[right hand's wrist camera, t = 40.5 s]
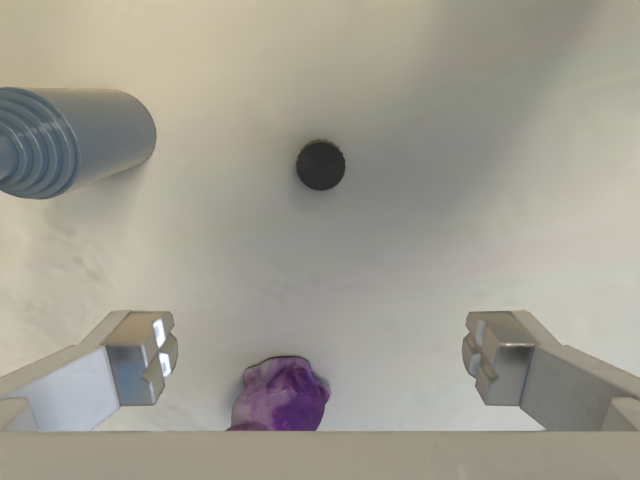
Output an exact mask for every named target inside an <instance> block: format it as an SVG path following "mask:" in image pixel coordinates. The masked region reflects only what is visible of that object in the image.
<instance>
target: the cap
mask: <svg viewBox="0 0 640 480" xmlns="http://www.w3.org/2000/svg"><path fill="white" fill-rule="evenodd" d="M296 165H297V172H298V175H299V178H300V179H301V181H302V182H303V183H304V184H305V185H306V186H308V187H309V188H311V189H314V190H321V191H322V190H328V189H331V188H333V187H334V186H336V185H337V184H338V183H339V182H340V181H341V179H342V177H343V175H344V172H345V159H344V157H343V153H342V152H341V151H340V149H339V147H337V146H336V145H335V144H333V142H330V141H327V140H320V139H319V140H315V141H312V142H310V143H308V144H306V146H305V147H304V148H303V149H301V152H300V154H299V155H298V160H297V164H296Z"/></svg>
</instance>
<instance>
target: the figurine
mask: <svg viewBox="0 0 640 480" xmlns="http://www.w3.org/2000/svg"><path fill="white" fill-rule="evenodd" d="M243 376H244V381H245V382H244V383H245V390H244V391H243V392H242V394H240V395H239V397H238V398H237V399H236V401H235V403H234V405H233V409H232V416H231V427H230V428H228V429H227V430H226V431H316V430H317V428H318V426H319V424H320V422H321V420H322V417H323V414H324V408H325V404H326V403H327V402H328V400H329V399H330V398H331V395H332V391H331V389H330V388H329V387H328V386H327V385H326V384H325V383H323V382H321V381H320V380H318V379H317V378H316V377H315V376H314V375H313V374H312V372H311V368H310V364H309V363H308V362H307V361H306V360H304V359H301V358H299V357H284V358H274V359H268V360H267V361H265V362H263V363H261V364H260V365H257V366H255V367H251V368H248V369H246V370H245V372H244V375H243Z"/></svg>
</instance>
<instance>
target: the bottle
mask: <svg viewBox="0 0 640 480" xmlns="http://www.w3.org/2000/svg"><path fill="white" fill-rule="evenodd" d="M155 143H156V129H155V125H154V122H153V119H152V117H151V115H150V113H149V112H148V110H147V109H146V108H145V106H144V105H143V104H142V103H141V102H140V101H138V100H137V99H136V98H134V97H133V96H131V95H129V94H127V93H125V92H122V91H117V90H95V89H59V88H23V87H3V88H0V190H1V191H3V192H5V193H7V194H10V195H12V196H16V197H20V198H26V199H49V198H53V197H56V196H59V195H61V194H64V193H66V192H69V191H72V190H74V189H77V188H80V187H82V186H85V185H87V184H90V183H93V182H95V181H98V180H101V179H103V178H106V177H108V176H111V175H114V174H116V173H119V172H122V171H124V170H127V169H129V168H132V167H135V166H137V165H140V164H141V163H143V162H144V161H146V160H147V159H148V158H149V157H150V155H151V154H152V152H153V150H154V147H155Z"/></svg>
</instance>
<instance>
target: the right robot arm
mask: <svg viewBox="0 0 640 480" xmlns="http://www.w3.org/2000/svg"><path fill="white" fill-rule="evenodd" d="M173 327H174V320H173V315H172V314H171V313H170V312H169V311H132V310H122V311H111V312H110V313H109V314H108V315H107V316H106V317H105V318H104V319H103V320H102V321H101V322H100V323H99V324H98V325H97V326H96V327H95V328H94V329H93V330H92V331H91V332H90V333H89V335H88V336H87V337H86V338H85V339H84V340H83V341H82V342H81V343H80V344H79V345H71V346H69V347H67V348H65V349H63V350H60V351H58V352H56V353H54V354H51V355H49V356H47V357H45V358H43V359H40V360H38V361H36V362H34V363H32V364H29V365H27V366H25V367H23V368H20V369H18V370H16V371H14V372H12V373H9V374H7V375H5V376H3V377H0V480H640V378H639V377H637V376H635V375H633V374H631V373H628V372H626V371H624V370H622V369H619V368H617V367H615V366H613V365H611V364H608V363H606V362H604V361H602V360H600V359H597V358H595V357H593V356H591V355H588V354H586V353H584V352H582V351H580V350H577V349H575V348H573V347H571V346H569V345H561V344H560V343H559V342H558V341H557V340H556V339H555V338H554V336H553V335H552V334H551V333H550V332H549V331H548V330H547V329H546V328H545V327H544V326H543V325H542V324H541V323H540V322H539V321H538V320H537V319H536V318H535V317H534V316H533V315H532V314H531V313H530V312H528V311H525V310H517V311H484V312H469V314H468V316H467V319H466V327H467V328H468V330H469V332H470V333H469V334H468V335H467V336H466V337H465V338H464V339H463V345H462V356H463V362H464V365H465V368H466V370H467V372H468V374H469V375H471V376H472V377H474V378H476V383H475V387H476V389H477V391H478V392H479V394H480V396H481V398H482V400H483V402H484V403H485V405H491V406H520V409H522V410H523V411H524V412H525V413H527V414H528V415H529V416H531V417H532V418H533V419H534V420H536V421H537V422H538V423H539V424H541V425H542V426H543V427H544V428H546V429H547V430H548V431H92V430H93V429H94V428H96V427H97V426H98V425H99V424H101V423H102V422H103V421H105V420H106V419H107V418H108V417H110V416H111V415H112V414H113V413H115V412H116V411H117V410H118V409H120V406H148V405H155V404H156V402H157V400H158V398H159V396H160V394H161V392H162V391H163V389H164V387H165V383H164V379H165V378H166V377H168V376H169V375H171V374H172V372H173V370H174V368H175V366H176V361H177V357H178V344H177V339H176V338H175V337H174V336H173V335H172V334H171V333H170V332H171V330H172V329H173Z"/></svg>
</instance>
